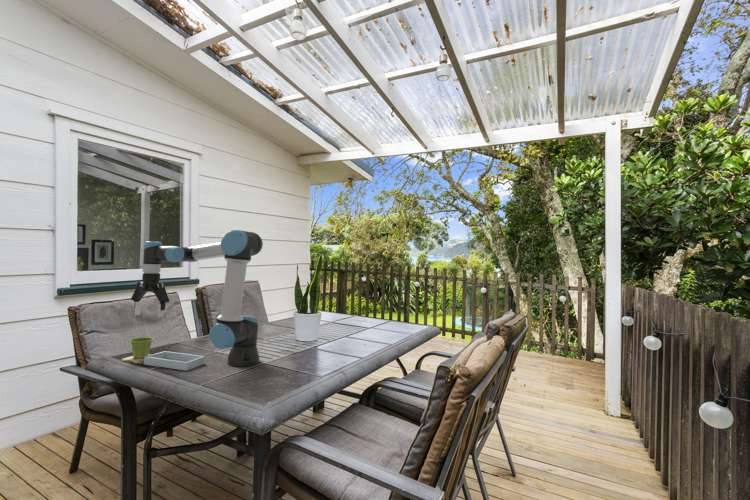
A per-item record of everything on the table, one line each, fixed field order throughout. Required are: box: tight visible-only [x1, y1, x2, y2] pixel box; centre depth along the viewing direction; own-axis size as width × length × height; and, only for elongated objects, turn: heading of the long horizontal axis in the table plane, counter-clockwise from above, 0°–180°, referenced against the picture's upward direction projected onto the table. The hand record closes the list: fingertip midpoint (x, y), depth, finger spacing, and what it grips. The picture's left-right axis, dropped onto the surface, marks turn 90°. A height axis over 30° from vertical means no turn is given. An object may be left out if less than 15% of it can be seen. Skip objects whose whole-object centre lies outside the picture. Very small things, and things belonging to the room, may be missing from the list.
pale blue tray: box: [143, 350, 206, 371], centre depth 175 cm, size 24×12×4 cm, turn 76°
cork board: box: [120, 353, 152, 365], centre depth 180 cm, size 12×12×1 cm
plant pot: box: [129, 337, 154, 359], centre depth 180 cm, size 9×9×9 cm
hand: (149, 315), depth 182 cm, fingers open, 13 cm apart
